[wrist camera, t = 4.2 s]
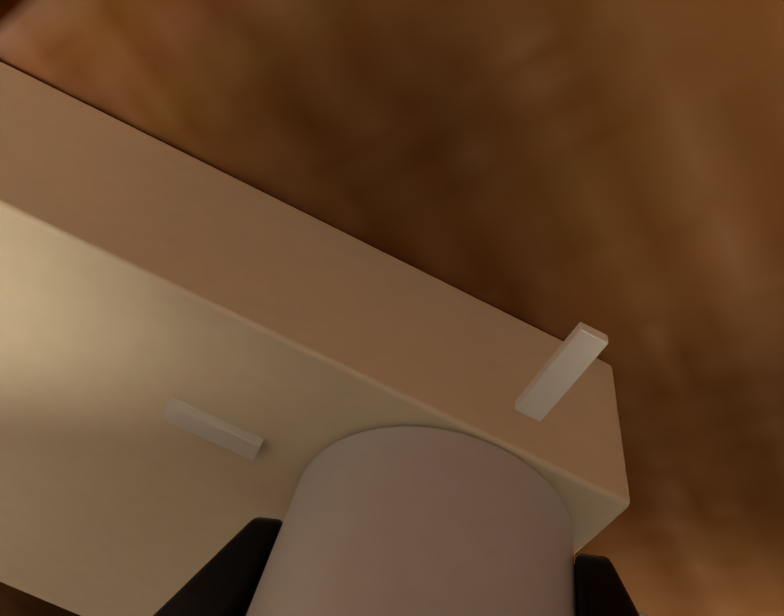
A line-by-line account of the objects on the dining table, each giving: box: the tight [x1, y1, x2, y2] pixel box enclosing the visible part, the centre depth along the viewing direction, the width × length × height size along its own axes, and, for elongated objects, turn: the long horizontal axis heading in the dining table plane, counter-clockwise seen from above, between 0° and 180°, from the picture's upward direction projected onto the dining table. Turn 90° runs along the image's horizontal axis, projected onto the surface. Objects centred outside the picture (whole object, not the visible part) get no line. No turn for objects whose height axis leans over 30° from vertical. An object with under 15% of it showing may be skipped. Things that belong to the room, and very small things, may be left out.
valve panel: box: [0, 62, 647, 616], centre depth 11 cm, size 18×11×3 cm, turn 66°
